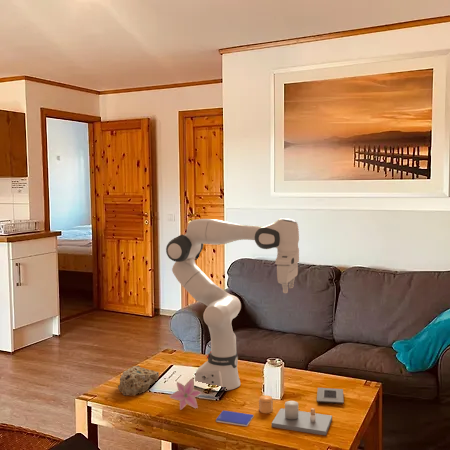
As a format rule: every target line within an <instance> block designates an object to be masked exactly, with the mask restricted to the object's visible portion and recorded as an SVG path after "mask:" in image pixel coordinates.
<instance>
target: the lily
mask: <svg viewBox="0 0 450 450" xmlns="http://www.w3.org/2000/svg"><path fill="white" fill-rule="evenodd" d="M193 378H194V377H192V378H191V379H189V380H187V382H186V383H185V385H184V384H183V383H180V382H179V381H176V387H177V391H175V392H173V393H171V394H170V395H169V398H170V399H173V400H175V401H179V410H180V411H181V410H183V409H184V408H185V407H186V406H187V405H188V406H190V407H192V408H194V409H196V408H197V409H198V408H199V406H198V402H197V399H196V398H197V397H199V396H200V395H201V394H202V391H200V390H197V389H195V387H194V379H193Z"/></svg>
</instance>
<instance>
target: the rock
mask: <svg viewBox="0 0 450 450" xmlns="http://www.w3.org/2000/svg"><path fill="white" fill-rule="evenodd" d="M159 377H160V375H159V371H155V370H152V369H149V368H145V367H141V366H139V365H133V366H131V367H129V368H127V369H126V370H124V371H122V374H121V375H120V377H119V385H118V387H117V388H118V390H119V393H121V392H122V395H123V396H136V395H137V394H138V393H139V394H141V393H142V392H143V393H145V391H147V390H148V389H149V388H150V387H151V386H152V385H153V384H155V383H156V382H155V381H157V380H158V381H159ZM158 381H157V382H158ZM150 385H151V386H150ZM143 393H142V394H143Z"/></svg>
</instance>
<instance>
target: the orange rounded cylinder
mask: <svg viewBox="0 0 450 450" xmlns="http://www.w3.org/2000/svg"><path fill="white" fill-rule="evenodd" d="M258 399H259V400H258V411H259V412H260V413H263V414H270V413H272V412H273V410H274V405H273V402H274V401H273V397H272V396H271V395H267V394H265V395H261V396H259V398H258Z"/></svg>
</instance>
